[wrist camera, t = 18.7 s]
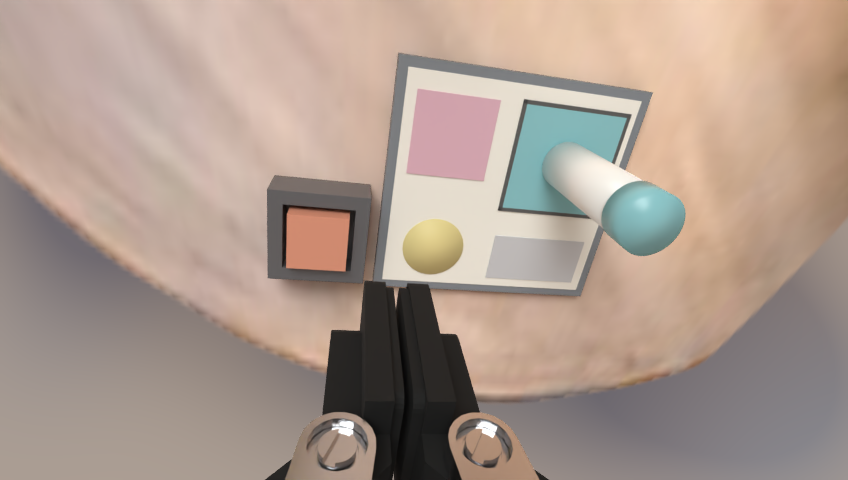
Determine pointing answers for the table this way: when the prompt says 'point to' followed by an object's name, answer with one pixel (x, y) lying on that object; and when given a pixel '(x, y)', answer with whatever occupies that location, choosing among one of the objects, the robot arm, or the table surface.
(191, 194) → the table surface
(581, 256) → the picture board
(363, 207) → the button housing
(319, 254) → the button
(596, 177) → the marker
